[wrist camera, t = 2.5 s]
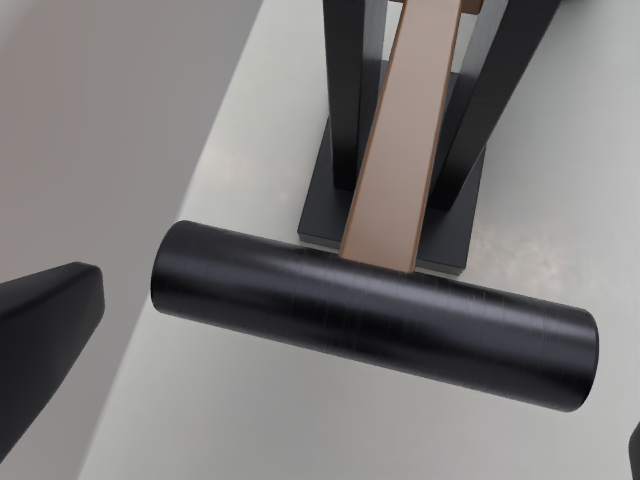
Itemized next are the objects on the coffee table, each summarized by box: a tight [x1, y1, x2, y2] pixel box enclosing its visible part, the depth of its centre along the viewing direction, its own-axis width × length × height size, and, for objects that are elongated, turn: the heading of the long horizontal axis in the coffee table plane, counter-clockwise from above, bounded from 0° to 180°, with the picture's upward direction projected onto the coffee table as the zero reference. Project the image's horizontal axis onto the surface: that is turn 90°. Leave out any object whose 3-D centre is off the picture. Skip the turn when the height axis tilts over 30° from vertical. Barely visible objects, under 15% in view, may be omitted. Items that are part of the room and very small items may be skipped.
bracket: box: [297, 0, 563, 276], centre depth 17 cm, size 9×7×14 cm
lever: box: [150, 0, 599, 412], centre depth 10 cm, size 12×6×2 cm, turn 166°
